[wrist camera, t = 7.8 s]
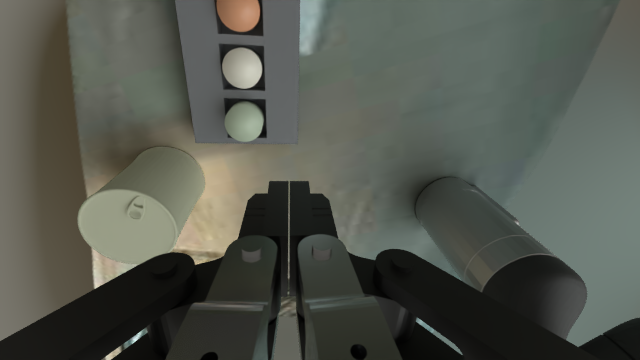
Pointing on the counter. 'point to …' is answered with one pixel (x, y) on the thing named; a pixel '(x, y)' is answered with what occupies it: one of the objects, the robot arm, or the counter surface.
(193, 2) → the button panel
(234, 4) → the terracotta button
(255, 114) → the sage button
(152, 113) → the counter surface
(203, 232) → the counter surface
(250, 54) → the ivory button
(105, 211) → the can
